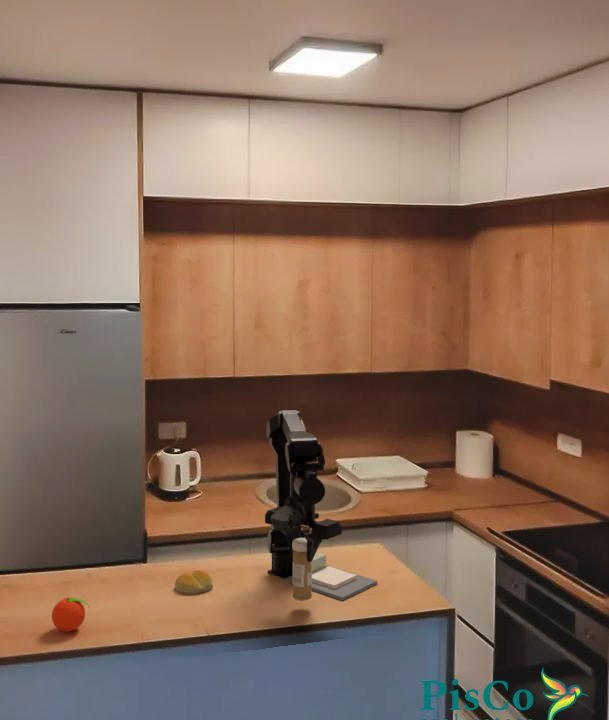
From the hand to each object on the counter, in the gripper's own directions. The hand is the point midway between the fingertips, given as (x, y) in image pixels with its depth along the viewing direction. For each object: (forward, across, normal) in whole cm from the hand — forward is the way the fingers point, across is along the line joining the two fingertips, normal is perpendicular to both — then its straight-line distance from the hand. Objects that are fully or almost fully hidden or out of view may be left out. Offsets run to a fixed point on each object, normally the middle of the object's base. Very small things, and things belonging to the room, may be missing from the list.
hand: (302, 559), depth 184 cm
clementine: (+12, -30, -41) cm, 52 cm away
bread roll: (+12, -28, -8) cm, 32 cm away
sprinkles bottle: (+9, 0, 0) cm, 9 cm away
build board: (+12, -5, +17) cm, 21 cm away
